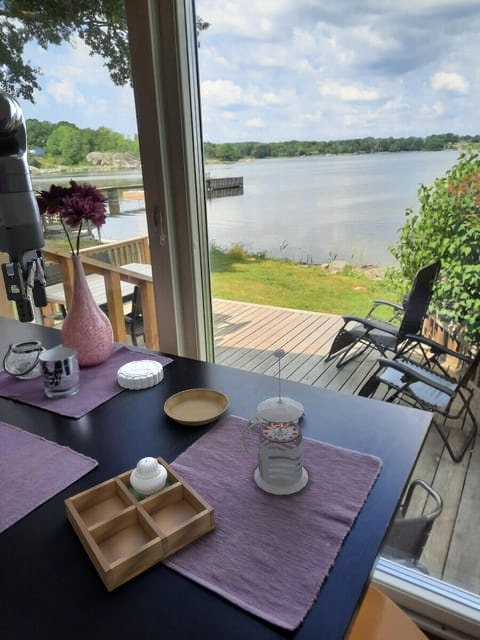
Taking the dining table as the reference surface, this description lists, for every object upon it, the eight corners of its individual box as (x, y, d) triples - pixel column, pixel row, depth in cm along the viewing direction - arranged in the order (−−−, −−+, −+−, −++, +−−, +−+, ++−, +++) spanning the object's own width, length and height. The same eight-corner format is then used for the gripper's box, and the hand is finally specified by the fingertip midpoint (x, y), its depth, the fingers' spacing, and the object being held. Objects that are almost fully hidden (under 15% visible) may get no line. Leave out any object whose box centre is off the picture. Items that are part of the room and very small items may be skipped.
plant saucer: (187, 393, 111) (186, 383, 110) (240, 404, 104) (239, 394, 104) (151, 423, 98) (150, 412, 97) (209, 437, 92) (208, 427, 91)
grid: (109, 592, 59) (105, 572, 58) (67, 518, 72) (63, 500, 71) (215, 527, 69) (214, 509, 68) (162, 472, 82) (160, 456, 81)
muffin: (168, 479, 79) (165, 446, 77) (169, 503, 73) (165, 468, 71) (133, 484, 78) (128, 450, 76) (131, 509, 72) (126, 473, 70)
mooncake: (165, 368, 125) (164, 357, 124) (160, 388, 114) (159, 376, 112) (123, 371, 125) (121, 359, 123) (113, 391, 113) (112, 378, 112)
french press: (315, 490, 76) (318, 357, 68) (249, 500, 74) (244, 365, 66) (299, 455, 85) (299, 335, 77) (240, 464, 83) (234, 341, 75)
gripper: (7, 217, 79) (25, 304, 84) (-27, 227, 66) (-3, 329, 71) (51, 215, 80) (66, 301, 85) (26, 224, 66) (45, 325, 72)
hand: (34, 313), depth 78 cm, fingers open, 8 cm apart
